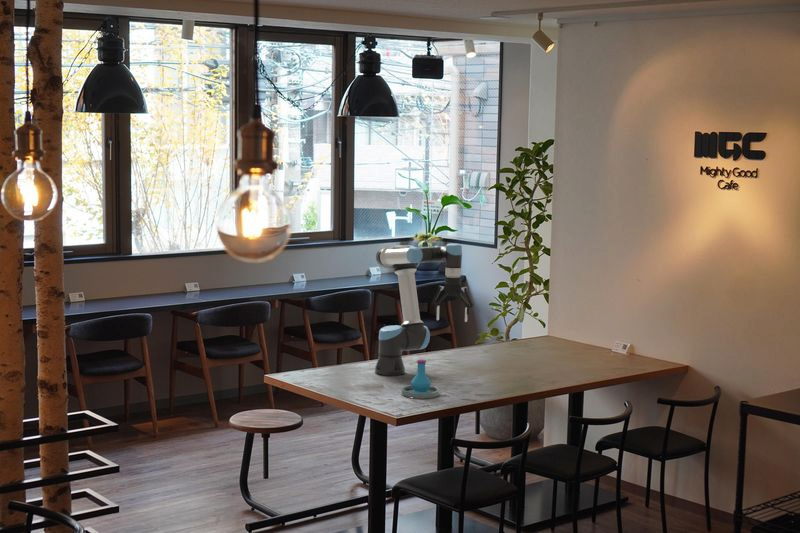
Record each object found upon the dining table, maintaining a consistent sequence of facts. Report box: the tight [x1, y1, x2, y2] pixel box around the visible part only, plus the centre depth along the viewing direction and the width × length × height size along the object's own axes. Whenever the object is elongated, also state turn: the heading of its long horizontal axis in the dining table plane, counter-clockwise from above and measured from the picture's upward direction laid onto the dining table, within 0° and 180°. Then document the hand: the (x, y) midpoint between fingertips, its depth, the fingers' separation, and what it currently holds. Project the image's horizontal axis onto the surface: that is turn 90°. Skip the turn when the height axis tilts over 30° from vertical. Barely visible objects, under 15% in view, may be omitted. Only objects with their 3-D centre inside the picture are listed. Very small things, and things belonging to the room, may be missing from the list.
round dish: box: [400, 385, 441, 399], centre depth 475 cm, size 17×17×2 cm
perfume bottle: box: [410, 359, 432, 393], centre depth 474 cm, size 9×9×15 cm
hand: (451, 320), depth 491 cm, fingers open, 13 cm apart
